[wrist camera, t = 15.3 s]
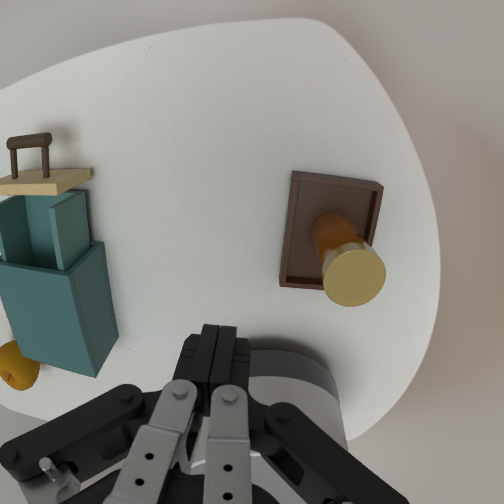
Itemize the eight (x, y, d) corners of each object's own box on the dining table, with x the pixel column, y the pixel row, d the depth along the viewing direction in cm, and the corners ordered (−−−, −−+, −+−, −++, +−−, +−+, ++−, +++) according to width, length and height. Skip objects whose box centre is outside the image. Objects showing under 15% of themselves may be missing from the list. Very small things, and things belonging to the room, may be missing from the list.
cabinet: (29, 235, 36) (-10, 262, 28) (103, 242, 36) (68, 276, 28) (50, 321, 42) (22, 356, 34) (118, 336, 42) (96, 378, 34)
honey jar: (312, 207, 32) (330, 246, 23) (360, 212, 32) (393, 252, 23) (305, 253, 35) (317, 305, 26) (351, 257, 35) (376, 308, 26)
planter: (194, 408, 48) (175, 501, 32) (212, 319, 40) (184, 438, 24) (307, 426, 49) (313, 516, 33) (354, 346, 41) (385, 457, 25)
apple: (9, 342, 46) (-15, 371, 38) (18, 320, 43) (-10, 352, 35) (41, 371, 48) (21, 403, 40) (54, 353, 45) (30, 388, 37)
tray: (292, 170, 32) (293, 174, 30) (377, 182, 32) (384, 186, 30) (278, 277, 37) (279, 286, 35) (355, 283, 37) (360, 292, 35)
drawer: (17, 134, 29) (-20, 143, 23) (89, 126, 29) (53, 133, 23) (34, 267, 37) (6, 291, 31) (100, 276, 37) (75, 306, 31)
